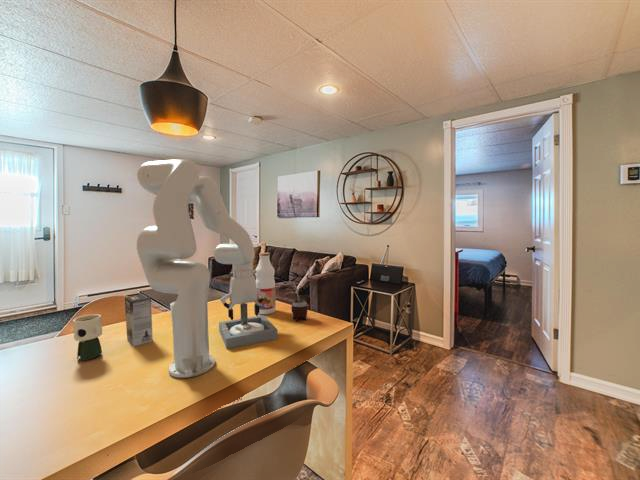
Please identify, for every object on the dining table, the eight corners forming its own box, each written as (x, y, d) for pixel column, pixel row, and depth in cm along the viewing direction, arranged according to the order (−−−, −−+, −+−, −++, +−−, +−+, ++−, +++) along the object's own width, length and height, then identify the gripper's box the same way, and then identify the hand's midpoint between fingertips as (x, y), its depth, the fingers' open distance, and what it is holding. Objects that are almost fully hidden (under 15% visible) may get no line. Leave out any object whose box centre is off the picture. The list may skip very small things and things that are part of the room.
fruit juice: (279, 311, 139) (278, 252, 137) (264, 316, 132) (263, 254, 130) (266, 307, 145) (265, 251, 143) (251, 312, 138) (249, 253, 136)
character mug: (66, 359, 92) (63, 319, 91) (90, 350, 99) (88, 312, 98) (89, 365, 88) (86, 323, 88) (113, 355, 95) (110, 316, 94)
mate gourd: (304, 323, 123) (303, 287, 122) (287, 321, 126) (286, 286, 125) (310, 317, 130) (310, 284, 129) (294, 315, 133) (293, 283, 132)
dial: (268, 334, 108) (267, 309, 107) (233, 340, 102) (232, 315, 102) (259, 323, 119) (258, 301, 119) (227, 328, 114) (226, 305, 113)
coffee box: (126, 339, 107) (123, 296, 106) (145, 334, 112) (143, 293, 111) (133, 347, 101) (131, 301, 100) (154, 341, 106) (151, 297, 105)
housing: (277, 338, 107) (277, 329, 107) (226, 349, 99) (226, 338, 99) (264, 323, 123) (263, 314, 123) (219, 331, 115) (218, 321, 115)
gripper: (262, 270, 121) (263, 310, 122) (218, 274, 113) (219, 317, 115) (267, 273, 114) (268, 316, 116) (221, 277, 107) (222, 323, 108)
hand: (244, 316), depth 115 cm, fingers open, 9 cm apart
